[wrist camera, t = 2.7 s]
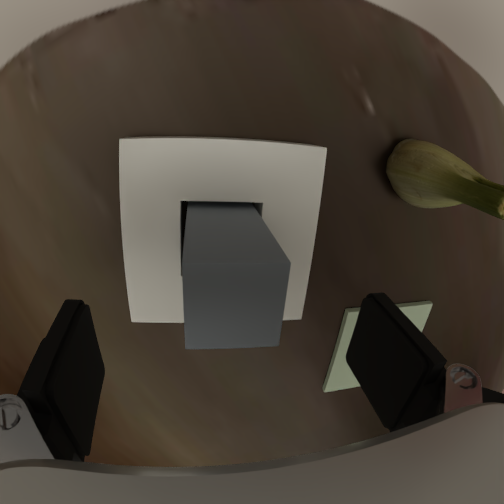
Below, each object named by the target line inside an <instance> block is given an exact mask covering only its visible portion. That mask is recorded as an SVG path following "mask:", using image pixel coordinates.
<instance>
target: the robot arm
mask: <svg viewBox="0 0 504 504" xmlns="http://www.w3.org/2000/svg"><path fill="white" fill-rule="evenodd" d="M346 362H347V364H348V366H349V367H350V369H351V371H352V372H353V374H354V376H355V378H356V379H357V381H358V383H359V384H360V386H361V388H362V389H363V391H364V393H365V394H366V396H367V398H368V400H369V401H370V403H371V405H372V406H373V408H374V410H375V412H376V413H377V415H378V417H379V418H380V420H381V422H382V424H383V425H384V427H386V428H389V430H390V433H387V434H384V435H381V436H378V437H374V438H371V439H367V440H364V441H360V442H357V443H353V444H349V445H345V446H341V447H337V448H333V449H328V450H324V451H319V452H315V453H310V454H304V455H299V456H293V457H288V458H281V459H275V460H268V461H260V462H252V463H243V464H232V465H219V466H202V467H144V466H122V465H109V464H98V463H89V462H84V457H85V455H86V456H88V455H89V454H90V450H91V443H92V437H93V431H94V425H95V419H96V414H97V409H98V404H99V399H100V394H101V389H102V384H103V380H104V375H105V368H104V363H103V360H102V356H101V353H100V349H99V345H98V341H97V337H96V333H95V329H94V325H93V321H92V316H91V312H90V308H89V305H85V304H84V302H83V301H82V300H70V299H67V300H65V302H64V303H63V305H62V307H61V309H60V311H59V313H58V314H57V316H56V318H55V320H54V322H53V324H52V326H51V328H50V330H49V332H48V334H47V336H46V338H44V339H43V340H42V341H41V343H40V345H39V347H38V349H37V351H36V354H35V356H34V358H33V360H32V362H31V364H30V366H29V369H28V371H27V373H26V375H25V378H24V380H23V382H22V385H21V387H20V389H19V392H18V394H17V396H16V395H12V394H4V395H0V504H504V394H502V393H499V392H496V391H493V390H490V389H487V388H483V387H482V386H481V380H480V377H479V375H478V374H477V373H476V372H475V371H474V370H473V369H472V368H470V367H468V366H466V365H463V364H453V365H451V366H449V367H448V368H447V370H446V369H445V368H444V366H445V364H446V362H447V360H446V359H445V358H444V357H443V355H442V354H441V353H440V352H439V351H438V350H437V349H436V348H435V347H434V345H433V344H432V343H431V342H430V341H429V340H428V339H427V338H426V337H425V336H424V334H423V333H422V332H421V331H420V330H419V329H418V328H417V327H416V326H415V325H414V324H413V323H412V321H411V320H410V319H409V318H408V317H407V316H406V315H405V314H404V313H403V312H402V311H401V310H400V309H399V308H398V307H397V306H396V305H395V304H394V303H393V301H392V300H391V299H390V298H389V297H388V296H387V295H386V294H384V293H370V294H368V295H367V296H366V298H364V299H363V301H362V304H361V308H360V311H359V314H358V318H357V321H356V324H355V328H354V331H353V334H352V337H351V340H350V343H349V347H348V350H347V353H346Z"/></svg>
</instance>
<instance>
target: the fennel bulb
mask: <svg viewBox="0 0 504 504" xmlns="http://www.w3.org/2000/svg"><path fill="white" fill-rule="evenodd" d="M386 173H387V176H388V178H389V180H390V183H391V185H392V187H393V189H394V191H395V192H396V194H397V195H398V196H399V197H400V198H401V199H402V200H404V201H405V202H407V203H408V204H410V205H413V206H415V207H419V208H441V207H448V206H455V205H458V204H466V205H469V206H472V207H474V208H477V209H479V210H481V211H483V212H486V213H488V214H490V215H492V216H495V217H497V218H500V219H502V220H504V186H503V185H500V184H497V183H494V182H491V181H489V180H487V179H486V178H484V177H483V176H482V175H480V174H479V173H478V172H476V171H475V170H474V169H473V168H472V167H471V166H469V165H468V164H467V163H465V162H464V161H462V160H461V159H460V158H458V157H456V156H455V155H453V154H452V153H450V152H449V151H447V150H445V149H443V148H441V147H439V146H437V145H435V144H433V143H430V142H426V141H420V140H416V139H405V140H403V141H401V142H400V143H398V144H397V145H396V146H395V148H394V150H393V152H392V153H391V155H390V156H389V158H388V160H387V167H386Z"/></svg>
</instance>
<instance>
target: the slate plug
mask: <svg viewBox="0 0 504 504" xmlns="http://www.w3.org/2000/svg"><path fill="white" fill-rule="evenodd" d="M290 267H291V262H290V260H289V259H288V257H287V256H286V254H285V253H284V251H283V250H282V248H281V247H280V245H279V244H278V242H277V240H276V239H275V237H274V236H273V234H272V233H271V231H270V230H269V228H268V227H267V225H266V224H265V222H264V221H263V219H262V218H261V216H260V215H259V213H258V212H257V210H256V209H255V207H254V206H253V204H252V203H251V202H223V201H188V206H187V216H186V225H185V236H184V247H183V258H182V281H183V310H184V332H185V349H226V348H252V347H270V346H279V340H280V334H281V327H282V321H283V315H284V308H285V301H286V295H287V288H288V281H289V274H290Z"/></svg>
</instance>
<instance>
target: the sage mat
mask: <svg viewBox="0 0 504 504" xmlns="http://www.w3.org/2000/svg"><path fill="white" fill-rule="evenodd" d="M395 305H396V306H397V307H398V308H399V309H400V310H401V311H402V312H403V313H404V314H405V315H406V316H407V317H408V318H409V319H410V320H411V321H412V323H413V324H414V325H415V326H416V327H417V328H418V329H419V330H420V331H421V332H422V331H423V328H424V326H425V323H426V321H427V318H428V315H429V313H430V310H431V307H432V305H433V303H432V302H431V301H421V302H412V303H403V304H395ZM360 308H361V307H359V308H346V309H345V313H344V316H343V320H342V324H341V328H340V331H339V335H338V338H337V342H336V345H335V349H334V352H333V356H332V359H331V362H330V366H329V369H328V372H327V375H326V378H325V381H324V385H323V388H322V389H323V391H324V392H330V391H336V390H342V389H347V388H353V387H358V386H360V384H359V383H358V381H357V379H356V378H355V376H354V374H353V372H352V371H351V369H350V367H349V366H348V364H347V362H346V353H347V350H348V347H349V343H350V340H351V337H352V334H353V331H354V328H355V324H356V321H357V318H358V314H359V311H360Z"/></svg>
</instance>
